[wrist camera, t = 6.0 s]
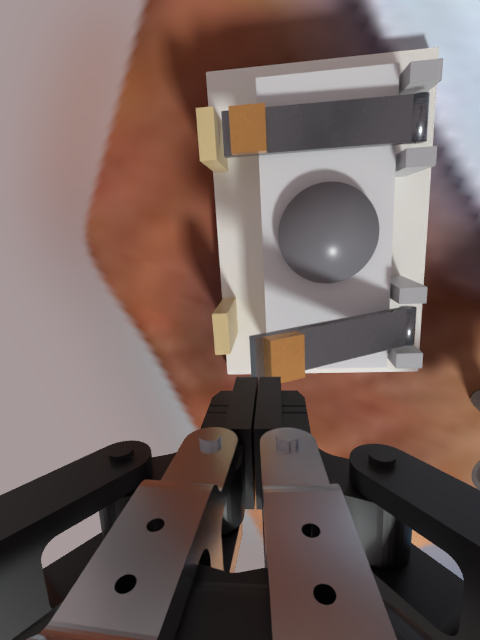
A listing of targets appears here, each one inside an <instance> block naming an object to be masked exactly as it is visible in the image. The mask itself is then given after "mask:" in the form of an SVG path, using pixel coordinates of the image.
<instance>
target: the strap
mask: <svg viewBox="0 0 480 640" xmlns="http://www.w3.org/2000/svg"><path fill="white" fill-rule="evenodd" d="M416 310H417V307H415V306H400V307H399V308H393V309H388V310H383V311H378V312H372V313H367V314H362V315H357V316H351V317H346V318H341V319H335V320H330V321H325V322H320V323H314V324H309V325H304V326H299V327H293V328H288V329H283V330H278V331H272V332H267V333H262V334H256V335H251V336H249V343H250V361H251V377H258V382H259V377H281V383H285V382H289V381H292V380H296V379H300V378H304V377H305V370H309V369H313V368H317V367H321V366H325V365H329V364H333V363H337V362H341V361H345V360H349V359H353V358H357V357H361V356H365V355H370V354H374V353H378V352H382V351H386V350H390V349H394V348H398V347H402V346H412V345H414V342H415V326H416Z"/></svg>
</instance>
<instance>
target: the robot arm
mask: <svg viewBox="0 0 480 640" xmlns="http://www.w3.org/2000/svg"><path fill="white" fill-rule="evenodd" d="M255 492H256V503H257V509H262V516H263V542H264V559H265V560H264V561H265V568H261V569H257V570H251V571H246V572H240V573H235V568H236V563H237V558H238V553H239V548H240V543H241V538H242V521H243V518H244V511H245V509H254V505H255ZM98 511H99V516H100V521H101V529H102V532H101V533H100V534H98V535H96V536H95V537H93V538H92V539H90V540H88V541H87V542H85V543H84V544H82V545H80V546H79V547H77V548H76V549H74V550H73V551H71V552H69V553H68V554H66V555H65V556H63V557H61V558H60V559H58V560H56V561H55V562H53V563H52V564H50V565H49V566H47V567H45V568H43V569H42V564H41V556H42V552H43V550H44V548H45V546H46V545H47V544H48V543H49V542H50V541H51V539H53V538H54V537H55V536H57V535H58V534H60V533H62V532H64V531H65V530H67V529H69V528H70V527H72V526H74V525H76V524H77V523H79V522H81V521H82V520H84V519H86V518H88V517H89V516H91V515H93V514H95V513H96V512H98ZM412 529H413V530H414V531H416V532H417V533H419V534H420V535H422V536H423V537H425V538H426V539H428V540H429V541H430V542H432V543H433V544H435V545H436V546H438V547H439V548H441V549H442V550H444V551H445V552H446V553H448V554H449V555H450V556H451V557H452V558H453V559H454V560H455V562H456V563H457V564H458V566H459V568H460V570H461V572H462V574H463V578H464V581H463V580H462V579H461V578H459V577H458V576H457V575H455V574H454V573H452V572H451V571H450V570H448V569H447V568H445V567H444V566H443V565H441V564H440V563H438V562H437V561H436V560H434V559H433V558H431V557H430V556H429V555H427V554H426V553H424V552H423V551H422V550H420V549H419V548H418V547H416V546H415V545H413V544H412V543H411V537H412ZM0 640H480V490H478V489H476V488H474V487H472V486H470V485H468V484H466V483H464V482H462V481H460V480H458V479H456V478H454V477H452V476H450V475H448V474H446V473H444V472H443V471H441V470H439V469H437V468H435V467H433V466H431V465H429V464H427V463H425V462H423V461H421V460H419V459H417V458H415V457H413V456H411V455H409V454H407V453H405V452H403V451H401V450H399V449H397V448H394V447H391V446H387V445H381V444H366V445H361V446H359V447H357V448H355V449H354V450H353V451H352V452H351V453H350V459H346V458H342V457H337V456H333V455H331V454H328V453H326V452H324V451H322V450H320V449H319V448H318V447H317V444H316V441H315V439H314V437H313V436H312V435H311V432H310V426H309V420H308V415H307V409H306V403H305V398H304V397H303V396H302V395H301V394H300V393H299V392H298V391H281V377H259V384H258V377H236V381H235V384H234V388H233V391H220V392H219V393H218V394H216V395H215V396H214V397H213V398H212V400H211V403H210V405H209V408H208V410H207V413H206V416H205V418H204V421H203V423H202V426H201V429H199V430H196V431H194V432H192V433H190V434H189V435H188V436H187V437H186V438H185V439H184V441H183V443H182V444H181V446H180V448H179V449H178V452H176V453H173V454H168V455H163V456H158V457H152V455H151V449H150V447H149V446H148V445H147V444H145V443H143V442H140V441H123V442H118V443H115V444H112V445H109V446H107V447H105V448H103V449H100V450H98V451H96V452H94V453H92V454H89V455H87V456H85V457H83V458H81V459H79V460H76V461H74V462H72V463H70V464H68V465H66V466H63V467H61V468H59V469H57V470H55V471H53V472H50V473H48V474H46V475H44V476H42V477H39V478H37V479H35V480H33V481H31V482H29V483H26V484H24V485H22V486H20V487H18V488H16V489H14V490H11V491H9V492H7V493H5V494H3V495H0Z"/></svg>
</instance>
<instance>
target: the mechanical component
mask: <svg viewBox="0 0 480 640" xmlns="http://www.w3.org/2000/svg"><path fill="white" fill-rule="evenodd" d="M471 402H472V403H473V405H474V406H475V407H476V408H477V409H478V410H479V411H480V390H479V391H476V392H475V393H473V395H472V396H471ZM472 481H473V483H474V485H475V486H476V488H477V489H478V490H480V461H479V462H478V463H477V464H476V465H475V466H474V468H473V471H472Z"/></svg>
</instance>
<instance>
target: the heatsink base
mask: <svg viewBox="0 0 480 640" xmlns="http://www.w3.org/2000/svg"><path fill="white" fill-rule="evenodd" d="M438 54H439V47H434V48H425V49H416V50H407V51H397V52H388V53H379V54H369V55H360V56H351V57H341V58H332V59H323V60H313V61H304V62H295V63H285V64H276V65H267V66H257V67H248V68H239V69H229V70H220V71H211V72H206V81H207V95H208V107H201V108H196V118H197V131H198V143H199V156H200V162H202V163H203V164H204V165H205V166H207V167H208V168H209V169H211V170H212V171H213V178H214V192H215V206H216V219H217V233H218V247H219V261H220V275H221V289H222V301H221V302H220V304H219V305H218V306H217V308H216V309H215V311H214V312H213V313H212V319H213V332H214V344H215V355H226V358H227V372H228V374H251V361H250V343H249V336H251V335H256V334H262V333H267V332H272V331H278V330H283V329H288V328H293V327H299V326H304V325H309V324H314V323H320V322H325V321H330V320H335V319H341V318H346V317H351V316H357V315H362V314H367V313H372V312H378V311H383V310H388V309H393V308H399V307H400V306H415V307H417V310H416V326H415V342H414V345H412V346H402V347H398V348H394V349H390V350H386V351H382V352H378V353H374V354H370V355H365V356H361V357H357V358H353V359H349V360H345V361H341V362H337V363H333V364H329V365H325V366H321V367H317V368H313V369H309V370H305V373H342V372H403V371H418V368H422V362H423V353H422V352H421V351H420V350H419V348H420V332H421V317H422V303H427V288H428V287H427V286H424V271H425V255H426V240H427V224H428V209H429V193H430V178H431V167H433V166H436V155H437V146H433V132H434V116H435V101H436V85H437V83H439V82H440V81H441V80H442V66H443V58H440V59H438ZM419 92H429V93H430V96H429V113H428V129H427V141H426V142H423V143H418V144H400V145H387V146H374V147H361V148H348V149H336V150H323V151H310V152H297V153H284V154H271V155H258V156H245V157H232V158H225V157H224V146H223V131H222V115H221V111H227V110H229V107H228V106H233V105H245V104H256V103H265V107H272V106H283V105H294V104H306V103H317V102H328V101H339V100H350V99H362V98H373V97H384V96H395V95H407V94H415V93H419Z"/></svg>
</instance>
